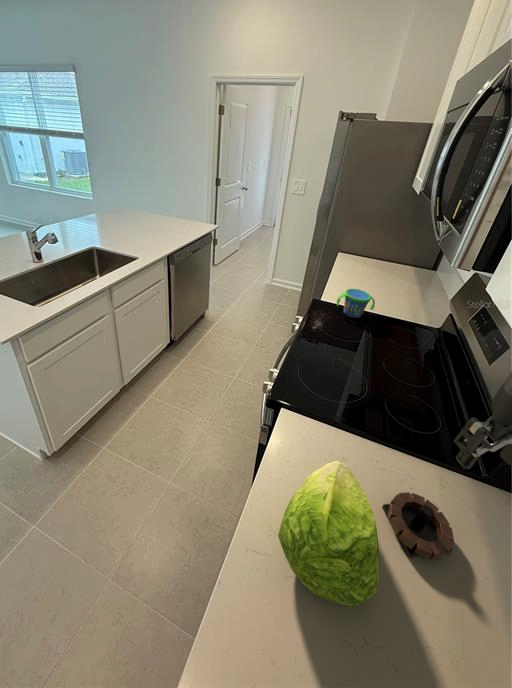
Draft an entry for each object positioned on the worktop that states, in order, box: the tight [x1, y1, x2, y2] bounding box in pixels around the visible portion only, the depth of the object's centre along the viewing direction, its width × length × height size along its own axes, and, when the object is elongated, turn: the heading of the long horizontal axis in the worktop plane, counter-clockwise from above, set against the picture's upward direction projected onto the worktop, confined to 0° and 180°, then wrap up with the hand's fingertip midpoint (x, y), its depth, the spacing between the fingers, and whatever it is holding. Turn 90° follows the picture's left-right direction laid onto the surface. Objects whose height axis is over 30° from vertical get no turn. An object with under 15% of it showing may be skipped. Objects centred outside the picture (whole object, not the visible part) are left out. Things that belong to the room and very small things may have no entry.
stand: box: [381, 503, 454, 558], centre depth 61 cm, size 9×9×7 cm
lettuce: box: [277, 460, 380, 608], centre depth 58 cm, size 17×24×14 cm
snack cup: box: [336, 288, 376, 319], centre depth 134 cm, size 16×10×10 cm
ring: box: [387, 491, 455, 560], centre depth 62 cm, size 11×11×2 cm
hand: (484, 462), depth 53 cm, fingers open, 8 cm apart
